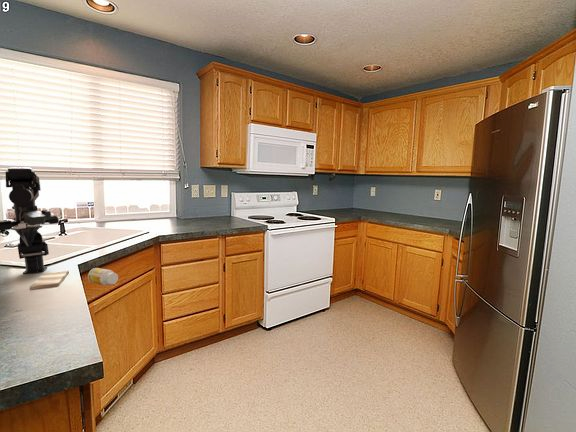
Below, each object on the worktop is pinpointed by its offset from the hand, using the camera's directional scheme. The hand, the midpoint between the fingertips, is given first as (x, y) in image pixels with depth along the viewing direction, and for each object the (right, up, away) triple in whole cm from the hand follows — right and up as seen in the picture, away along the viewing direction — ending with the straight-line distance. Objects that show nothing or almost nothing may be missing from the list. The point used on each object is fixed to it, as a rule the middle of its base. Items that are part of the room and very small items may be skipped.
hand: (29, 246), depth 112 cm
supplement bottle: (+24, -10, -1) cm, 27 cm away
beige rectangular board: (+7, -13, +1) cm, 15 cm away
